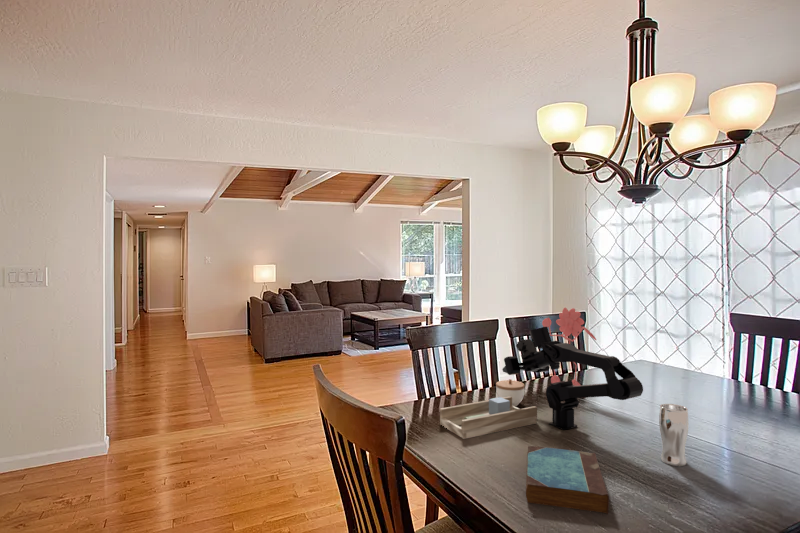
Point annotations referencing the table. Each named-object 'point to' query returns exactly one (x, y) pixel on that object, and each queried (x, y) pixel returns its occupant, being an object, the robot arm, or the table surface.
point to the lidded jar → (511, 390)
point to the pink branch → (568, 331)
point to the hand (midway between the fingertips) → (512, 369)
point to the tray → (484, 418)
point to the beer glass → (673, 433)
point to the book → (565, 479)
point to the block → (498, 405)
